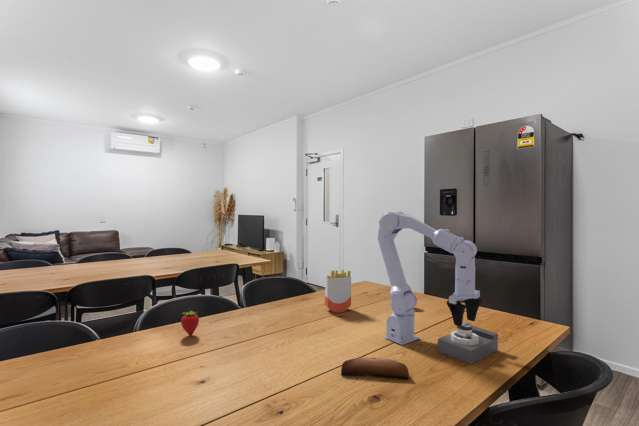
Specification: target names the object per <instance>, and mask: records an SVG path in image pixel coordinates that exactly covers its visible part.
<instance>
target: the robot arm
mask: <svg viewBox="0 0 639 426" xmlns="http://www.w3.org/2000/svg"><path fill="white" fill-rule="evenodd" d="M378 225H379V227H378V231H377V241H378V244H379V248H380V251H381V255H382V259H383V262H384V265H385V268H386V273H387V276H388V279H389V282H390V287H391V288H390V291H389V296H390V303H389V304H390V308H391V310H392V313H391V315H389V316H388V317H387V318H386V333H385V335H384V339H387V340H389V341H392V342H393V343H396V344H399V345H402V346H403V345H406V344H410V343H411V342H414V341H417V340H420V336H417V335H416V334H415V309H414V308H415V307H416V306H417V304H418V298H417V296H416V294H415V293H414V292H413V290H412V287H411V286H410V285H409V284H408V283H407V280H406V276H405V273H404V270H403V267H402V263H401V260H400V257H399V253H398V250H397V247H396V243H395V238H396V237H397V236H398V233H400V232H401V231H402V230H403V229H411V230H413V231H414V232H417V233H419V234H422V235H423V236H426V237H427V238H429V239H431V241H432V243H433V245H435V246H437V247H438V248H440V249H442V250H444V251H446V252H448V253H450V254H453V256H454V257H455V267H454V268H455V272H454V273H455V275H454V279H455V280H454V281H455V282H454V284H455V285H454V292H453V293H452V294H451V295H450V296H448V300H447V301H446V306H447V307H448V308H449V311H450V315H451V317H452V321H453V324H454V325H455V326H456V327H457V326H462V322H464V315H465V314H464V312H465V311H466V318H467V321H471V322H475V321H476V318H477V314H478V311H479V308H480V306H481V304H483V298H481V291H480V290H478V289H476V254H477V252H478V247H477V246H476V244H475V243H474V242H473V241H471V240H470V239H465V238H464V237H463V236H458V235H456V234H453V233H452V232H450V231H451V230H450V229H448V228H445V229H444V228H440V229H435V228H433V227H432V226H430V225H428V224H426V223H425V222H423V221H421V220H419V219H417V218H416V217H414V216H411V214H410V215H409V214H406V213H404V212H403V211H386V212H384V213H383V214H382V216H381V217H380V218H379V219H378ZM464 239H465V240H464ZM463 301H464V303H462V302H463Z"/></svg>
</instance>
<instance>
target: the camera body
mask: <svg viewBox="0 0 639 426" xmlns="http://www.w3.org/2000/svg"><path fill="white" fill-rule="evenodd" d="M498 341H499V333H498V332H494V331H491V330H489V329H488V330H487V329H484V328H480V327H477V326H473V325H472V339H464V338H460V337H457V330H452V331H451V332H450V333H448V334H446V335H444V336H441V337H439V338H437V352H438V353H441V354H443V355H445V356H448V357H451V358H453V359H457V360H459V361H461V362H464V363H466V364H469V365H473V364H475V363H477V362H478V361H480V360H482V359H484V358H486V357H488V356H490V355H492V354H494V353H496V352H498V349H499V343H498Z"/></svg>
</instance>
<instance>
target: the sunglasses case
mask: <svg viewBox="0 0 639 426" xmlns="http://www.w3.org/2000/svg"><path fill="white" fill-rule="evenodd" d="M340 371H341V373H340V375H370V376H384V377H397V378H404V379H405V378H407V380H409V378H410V377H409V368H408V367H407V365H406V364H405V363H403V362H400V361H397V360H394V359H390V358H382V357H381V358H379V357H378V358H377V357H365V356H363V357H362V356H361V357H360V356H359V357H354V358H351V359H346V360H344V361H343V362H342V365H341V369H340Z"/></svg>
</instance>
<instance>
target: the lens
mask: <svg viewBox="0 0 639 426" xmlns="http://www.w3.org/2000/svg"><path fill="white" fill-rule="evenodd" d="M472 326H473V324H472V323H470V322H468V321H463V322H462V326H457V325H456V331H457V337H460V338H464V339H472Z"/></svg>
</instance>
